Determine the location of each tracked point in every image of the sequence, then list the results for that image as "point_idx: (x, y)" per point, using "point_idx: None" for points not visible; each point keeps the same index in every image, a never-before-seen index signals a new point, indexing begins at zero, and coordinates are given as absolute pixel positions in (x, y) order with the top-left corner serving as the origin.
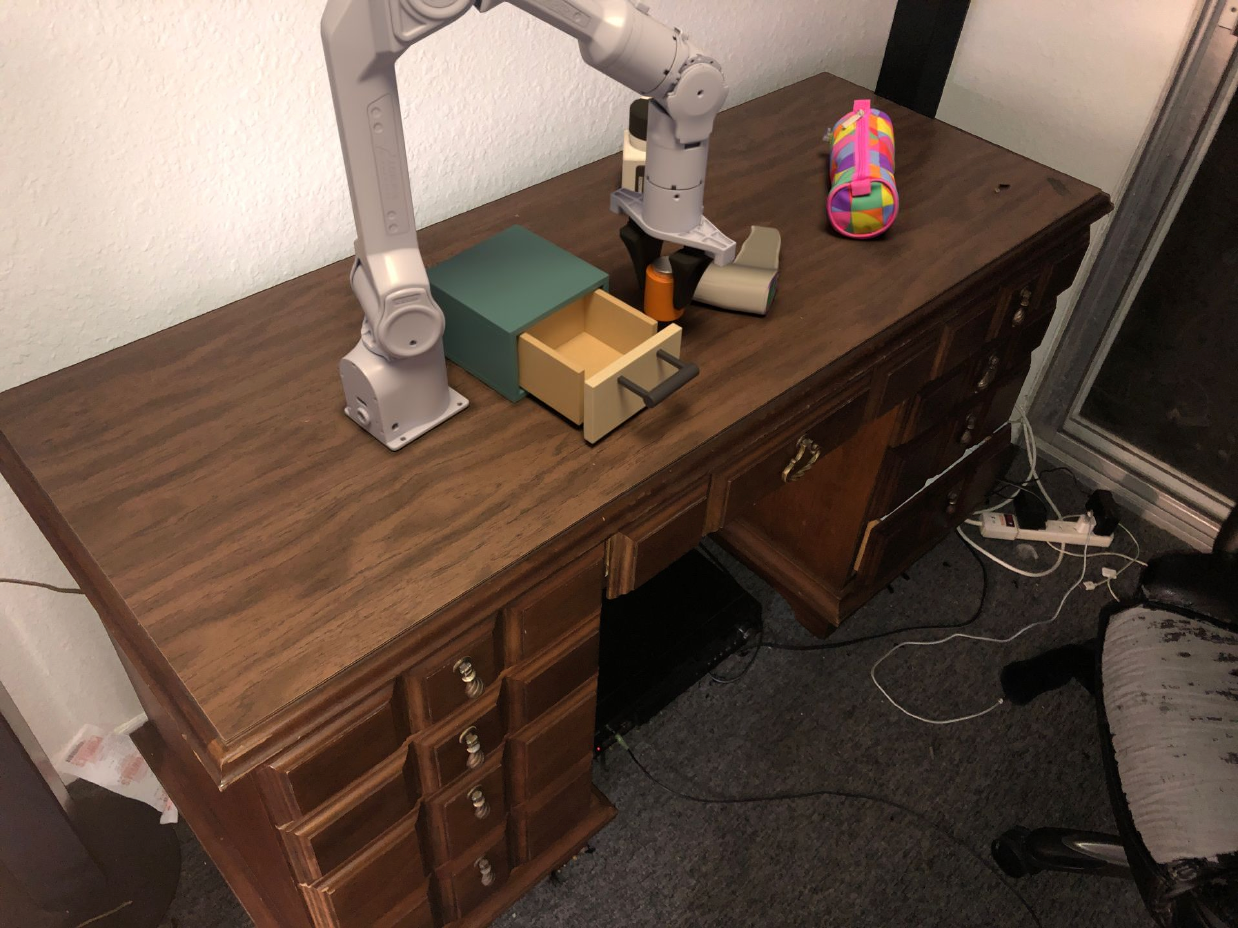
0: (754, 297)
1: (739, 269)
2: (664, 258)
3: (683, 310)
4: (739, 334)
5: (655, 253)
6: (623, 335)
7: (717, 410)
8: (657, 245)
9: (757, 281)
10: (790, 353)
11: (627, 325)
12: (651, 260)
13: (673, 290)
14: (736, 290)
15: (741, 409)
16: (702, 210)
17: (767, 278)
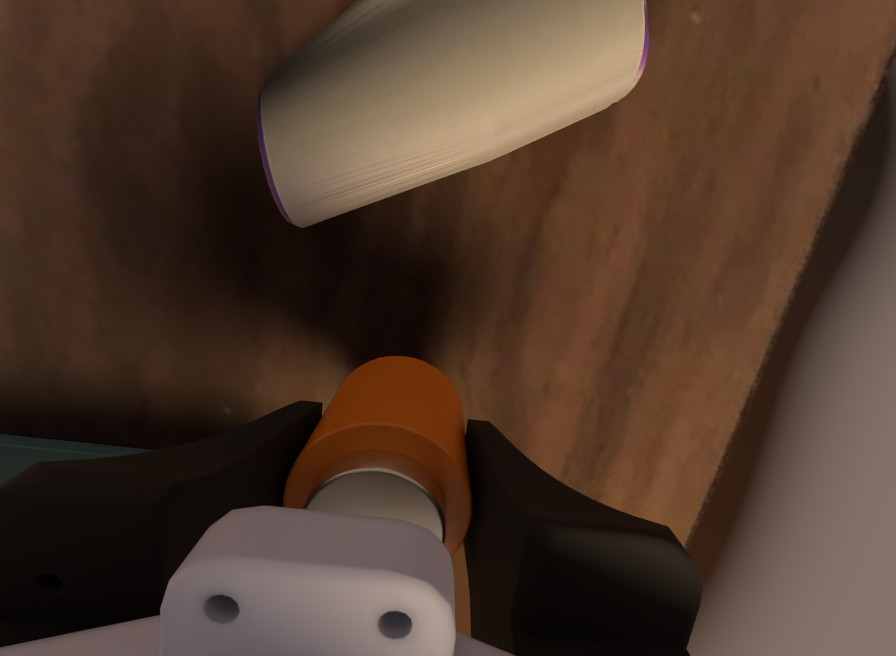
0: (586, 112)
1: (500, 42)
2: (330, 506)
3: (458, 398)
4: (567, 222)
5: (263, 488)
6: None
7: (651, 502)
8: (245, 500)
9: (597, 68)
10: (726, 210)
11: None
12: (273, 496)
13: (466, 559)
14: (524, 134)
15: (697, 469)
16: (453, 608)
17: (629, 24)
